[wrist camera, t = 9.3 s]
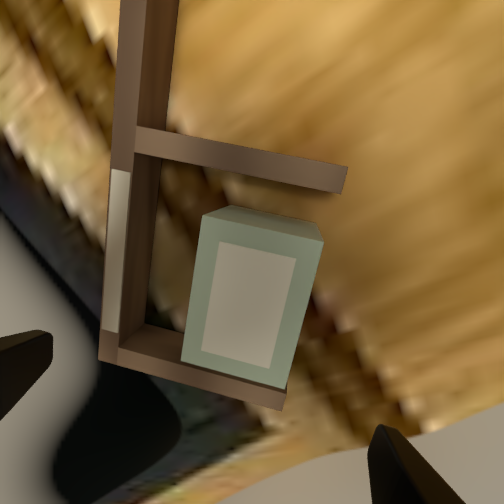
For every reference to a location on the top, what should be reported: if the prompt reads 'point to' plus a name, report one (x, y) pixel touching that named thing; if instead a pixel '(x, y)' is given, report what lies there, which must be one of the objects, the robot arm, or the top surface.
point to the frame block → (250, 292)
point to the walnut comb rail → (146, 195)
